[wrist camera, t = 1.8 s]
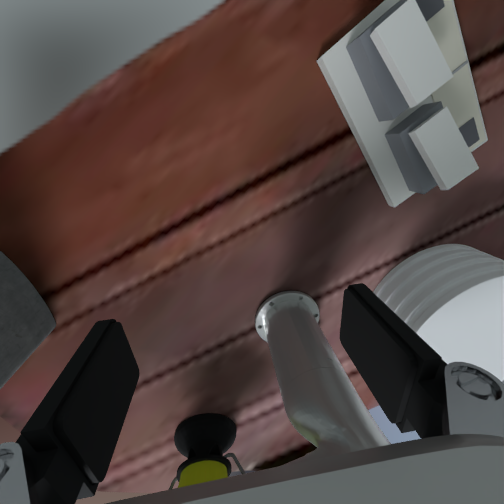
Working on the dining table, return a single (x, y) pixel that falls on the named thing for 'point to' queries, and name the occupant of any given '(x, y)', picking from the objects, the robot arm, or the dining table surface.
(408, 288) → the plate stack
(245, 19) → the dining table surface
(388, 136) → the panel
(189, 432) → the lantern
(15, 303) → the hip flask
